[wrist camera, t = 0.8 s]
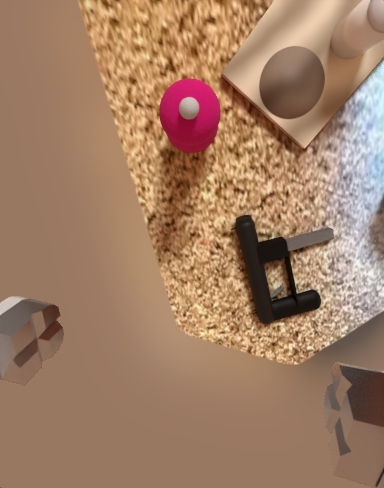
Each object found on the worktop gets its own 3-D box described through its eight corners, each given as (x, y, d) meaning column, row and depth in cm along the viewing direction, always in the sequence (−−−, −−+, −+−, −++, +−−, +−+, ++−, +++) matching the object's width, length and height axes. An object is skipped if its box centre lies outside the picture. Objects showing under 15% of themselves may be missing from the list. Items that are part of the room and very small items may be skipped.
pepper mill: (221, 108, 43) (242, 71, 24) (208, 158, 45) (218, 160, 26) (174, 95, 42) (155, 46, 23) (163, 145, 44) (138, 139, 25)
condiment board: (221, 75, 41) (222, 72, 40) (311, -49, 37) (316, -58, 36) (301, 148, 44) (305, 148, 43) (393, 40, 40) (401, 36, 38)
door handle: (330, 194, 44) (229, 223, 45) (346, 306, 50) (256, 331, 50) (320, 192, 47) (225, 219, 48) (335, 297, 53) (251, 320, 54)
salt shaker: (323, 41, 39) (359, 9, 30) (351, 6, 38) (397, -38, 29) (348, 67, 40) (391, 43, 31) (377, 34, 38) (429, -1, 30)
